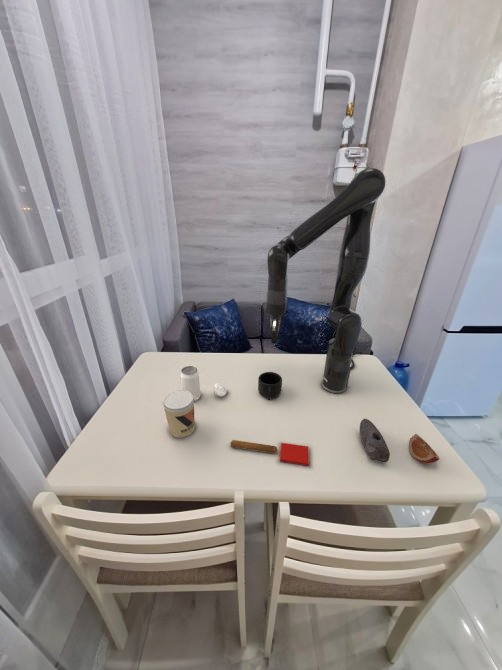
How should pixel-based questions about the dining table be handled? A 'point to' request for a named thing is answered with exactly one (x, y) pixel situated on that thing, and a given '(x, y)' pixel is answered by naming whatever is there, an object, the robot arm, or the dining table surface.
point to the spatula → (287, 454)
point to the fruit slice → (422, 450)
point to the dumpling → (219, 390)
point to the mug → (269, 384)
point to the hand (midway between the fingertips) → (274, 342)
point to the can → (191, 381)
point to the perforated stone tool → (374, 442)
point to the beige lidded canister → (179, 413)
